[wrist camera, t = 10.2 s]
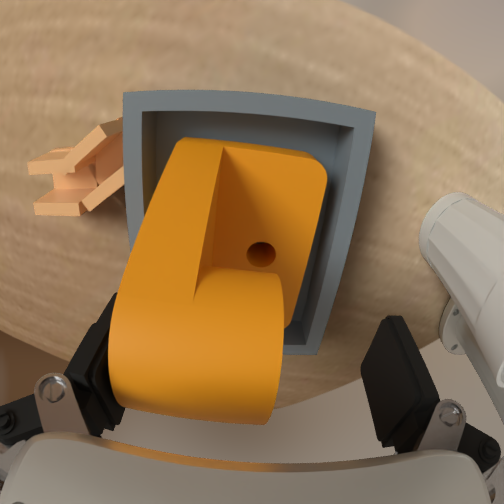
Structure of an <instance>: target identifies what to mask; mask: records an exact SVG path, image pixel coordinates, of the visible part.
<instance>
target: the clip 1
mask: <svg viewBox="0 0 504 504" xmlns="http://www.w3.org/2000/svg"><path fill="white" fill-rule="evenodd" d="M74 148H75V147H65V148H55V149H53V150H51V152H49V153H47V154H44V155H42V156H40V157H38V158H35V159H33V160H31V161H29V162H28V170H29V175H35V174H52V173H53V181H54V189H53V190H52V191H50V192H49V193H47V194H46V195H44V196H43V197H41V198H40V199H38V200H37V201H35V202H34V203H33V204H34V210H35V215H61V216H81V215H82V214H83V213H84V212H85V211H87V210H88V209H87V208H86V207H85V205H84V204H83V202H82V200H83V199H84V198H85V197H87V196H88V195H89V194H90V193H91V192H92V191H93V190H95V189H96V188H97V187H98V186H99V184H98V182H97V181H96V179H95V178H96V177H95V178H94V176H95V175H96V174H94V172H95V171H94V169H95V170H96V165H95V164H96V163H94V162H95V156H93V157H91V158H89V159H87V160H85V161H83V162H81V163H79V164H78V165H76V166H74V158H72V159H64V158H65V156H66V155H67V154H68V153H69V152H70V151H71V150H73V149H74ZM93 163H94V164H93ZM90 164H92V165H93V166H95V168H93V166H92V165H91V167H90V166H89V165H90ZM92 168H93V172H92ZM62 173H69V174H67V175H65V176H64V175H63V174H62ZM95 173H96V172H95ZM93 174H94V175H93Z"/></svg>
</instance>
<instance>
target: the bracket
mask: <svg viewBox="0 0 504 504" xmlns="http://www.w3.org/2000/svg"><path fill="white" fill-rule="evenodd" d="M326 184H327V173H326V170H325V169H324V167H323V166H322V165H321V164H320V163H319V162H318V161H317V160H316V159H315V158H314V157H313V156H312V155H311V154H309V153H307V152H304V151H298V150H292V149H286V148H280V147H273V146H266V145H259V144H251V143H243V142H235V141H226V140H216V139H205V138H193V137H184V138H182V139H181V140H180V141H178V142H177V143H176V145H175V147H174V149H173V151H172V154H171V156H170V158H169V160H168V162H167V164H166V167H165V169H164V171H163V173H162V176H161V178H160V180H159V183H158V185H157V187H156V190H155V192H154V194H153V197H152V199H151V202H150V204H149V207H148V209H147V212H146V214H145V217H144V219H143V222H142V224H141V227H140V230H139V232H138V235H137V238H136V240H135V243H134V246H133V249H132V251H131V254H130V257H129V260H128V263H127V266H126V269H125V272H124V275H123V278H122V281H121V284H120V287H119V290H118V293H117V297H116V300H115V304H114V308H113V313H112V318H111V324H110V332H109V344H108V366H109V376H110V382H111V387H112V390H113V394H114V396H115V398H116V400H117V402H118V403H119V404H120V405H121V406H122V407H126V408H131V409H135V410H140V411H145V412H150V413H156V414H161V415H168V416H173V417H181V418H188V419H195V420H204V421H213V422H223V423H224V422H225V423H237V424H253V425H265V424H266V423H267V422H268V420H269V418H270V416H271V413H272V410H273V407H274V404H275V400H276V395H277V390H278V385H279V379H280V372H281V364H282V353H283V338H284V328H286V327H287V326H288V325H289V324H290V322H291V320H292V316H293V313H294V309H295V306H296V302H297V299H298V295H299V291H300V288H301V284H302V281H303V277H304V273H305V269H306V266H307V262H308V258H309V254H310V250H311V246H312V243H313V239H314V235H315V231H316V226H317V222H318V218H319V214H320V210H321V206H322V201H323V197H324V193H325V188H326ZM257 242H266V243H263V244H256V243H257Z"/></svg>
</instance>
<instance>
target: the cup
mask: <svg viewBox="0 0 504 504" xmlns="http://www.w3.org/2000/svg"><path fill="white" fill-rule="evenodd" d="M419 247H420V251H421V254H422V256H423V257H424V259H425V260H426V261H427V262H428V263H429V265H430V266H431V267H432V268H433V270H434V271H435V273H436V274H437V276H438V277H439V279H440V280H441V282H442V283H443V285H444V286H445V288H446V290H447V291H448V293H449V294H450V296H451V298H452V299H453V301H454V302H455V304H456V306H457V307H458V309H459V311H460V312H461V314H462V316H463V318H464V319H465V321H466V323H467V325H468V326H469V328H470V330H471V332H472V334H473V335H474V337H475V339H476V341H477V343H478V345H479V347H480V349H481V351H482V353H483V355H484V357H485V359H486V361H487V363H488V366H489V368H490V370H491V372H492V374H493V377H494V379H495V381H496V383H497V385H498V386H499V387H501V388H504V215H503V214H501V213H500V212H498V211H496V210H494V209H492V208H490V207H489V206H487V205H485V204H483V203H481V202H479V201H477V200H476V199H474V198H473V197H471V196H470V195H468V194H466V193H463V192H454V193H450V194H447V195H445V196H444V197H442V198H440V199H439V200H438V201H437V202H436V203H435V204H434V205H433V206H432V207H431V208H430V210H429V211H428V213H427V214H426V216H425V218H424V220H423V223H422V225H421V229H420V233H419Z"/></svg>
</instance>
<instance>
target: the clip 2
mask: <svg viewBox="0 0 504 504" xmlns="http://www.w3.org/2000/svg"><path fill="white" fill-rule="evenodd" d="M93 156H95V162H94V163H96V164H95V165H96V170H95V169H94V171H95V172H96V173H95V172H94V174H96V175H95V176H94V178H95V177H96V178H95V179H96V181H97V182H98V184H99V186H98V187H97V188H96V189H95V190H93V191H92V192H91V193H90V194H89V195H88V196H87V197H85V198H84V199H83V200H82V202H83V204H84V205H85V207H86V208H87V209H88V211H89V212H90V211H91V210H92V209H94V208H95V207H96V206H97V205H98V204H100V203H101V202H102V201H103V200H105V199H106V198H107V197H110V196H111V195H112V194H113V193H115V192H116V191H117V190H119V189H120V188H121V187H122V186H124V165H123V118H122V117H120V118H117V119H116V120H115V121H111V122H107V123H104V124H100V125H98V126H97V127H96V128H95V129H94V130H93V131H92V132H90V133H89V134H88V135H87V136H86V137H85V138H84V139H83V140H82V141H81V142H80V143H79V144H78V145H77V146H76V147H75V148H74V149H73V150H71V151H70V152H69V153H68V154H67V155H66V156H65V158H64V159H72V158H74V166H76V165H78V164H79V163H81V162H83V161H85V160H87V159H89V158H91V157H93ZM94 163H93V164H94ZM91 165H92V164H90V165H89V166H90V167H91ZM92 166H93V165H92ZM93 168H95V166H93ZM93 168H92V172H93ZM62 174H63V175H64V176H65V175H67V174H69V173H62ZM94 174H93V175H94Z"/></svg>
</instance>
